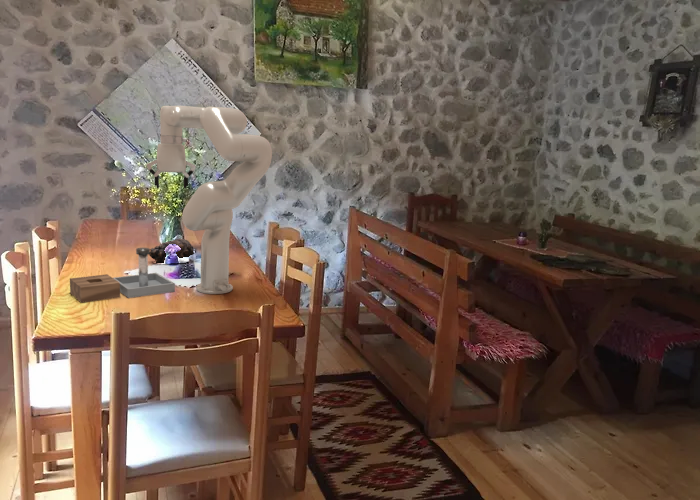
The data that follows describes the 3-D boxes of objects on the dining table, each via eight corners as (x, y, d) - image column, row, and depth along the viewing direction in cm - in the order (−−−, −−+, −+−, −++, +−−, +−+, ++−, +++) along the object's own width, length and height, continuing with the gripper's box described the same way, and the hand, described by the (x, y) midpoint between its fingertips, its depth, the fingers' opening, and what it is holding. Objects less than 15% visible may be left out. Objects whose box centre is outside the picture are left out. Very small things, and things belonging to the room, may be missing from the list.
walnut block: (120, 297, 192) (119, 282, 191) (81, 302, 184) (80, 287, 183) (107, 288, 200) (107, 274, 199) (70, 293, 193) (69, 278, 192)
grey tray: (174, 291, 202) (174, 283, 201) (128, 298, 191) (128, 289, 191) (156, 280, 214) (156, 272, 213) (111, 286, 203) (111, 277, 203)
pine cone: (146, 261, 240) (146, 237, 238) (189, 258, 250) (189, 235, 248) (153, 267, 232) (153, 242, 230) (197, 264, 242) (197, 240, 240)
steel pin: (152, 287, 202) (151, 249, 199) (139, 289, 199) (139, 250, 197) (147, 284, 205) (146, 247, 203) (134, 286, 203) (134, 248, 200)
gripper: (194, 141, 218) (194, 187, 222) (145, 139, 212) (146, 186, 216) (197, 142, 211) (196, 189, 215) (146, 140, 205) (146, 188, 209)
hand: (171, 187), depth 215 cm, fingers open, 9 cm apart
